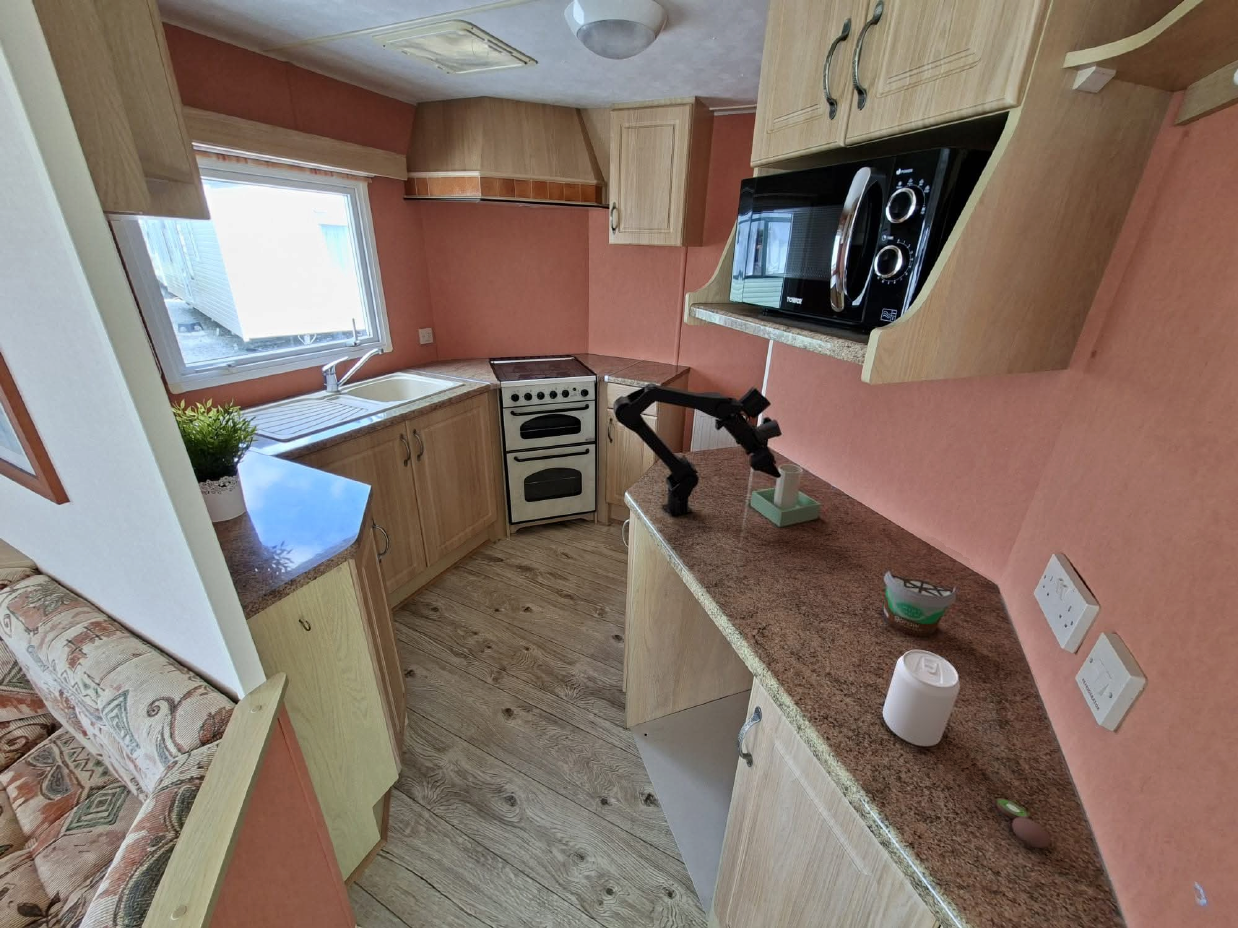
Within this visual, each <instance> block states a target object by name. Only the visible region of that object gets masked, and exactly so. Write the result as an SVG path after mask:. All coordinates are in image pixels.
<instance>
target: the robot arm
mask: <svg viewBox="0 0 1238 928" xmlns="http://www.w3.org/2000/svg"><path fill="white" fill-rule="evenodd" d="M657 402H658V403H662V404H667V405H673V406H677V407H681V408H682V407H683V408H688V409H693V410H697V411H699V412H701V413H703V414H706V415H707V416H710V417H712V418H715V419H714V422H715V424H714V428H715V429H716V431H720V430H721V429H723V428H724V430H725V431H727V432H728V433H729V435H730V436H731V437H732V438H733V440H735V443H736V444H737V446H740V447H741V448H742V449H743V451H744V452H745V454H746V455H747V456H749V460H748V462H749V466H750V468H751V469H752V470H753V471H754V472H760V473H763V474H766V475H769V476H772V477H774V478H776V479H777V478H780V477H781V474H780V472H779V471H778V468H777V466H776V464H777V461H776V459H775V453H774V452H773V451H772V450H771V448H770V447H768V446H769V440H771V439H773V438H779V437H780V436H782V435H783V434H782V430H781V427H780V425H779V422H778V420H777V419H775V418H773V419H771V418H770V417H769V416H765V417H763V418H762V422H761V423H760V424H759V425H757V426H755V424H752V423H750V422H749V420H747V419H746V418H748V419H751V420H754V419H757V418H758V417H759V416H760V415H761V414H762V413H763V412H764V411H766V410H767V409H768V408H769V407H770V406H771V405H772V404H771V402H770V401H769V399H768V398H767V397H765V396H764V395H763V393H761V391H759V390H758V389H757V388H756V387H755V386H752V387H750V389H749V390H748V391H747V392H746V393H745V394H744V395H743V396H742V397H741V398H740V399H737V398H736V397H731V396H729V397H728V396H725V395H724V394H723V393H721V392H719V391H718V392H717V391H712V392H711V391H710V392H709V391H705V392H694V391H689V390H685V389H678V388H674V387H669V386H664V385H659V384H656V383H654V382H650V383H648V384H646V385H644V386H643V387H642V388H639V389H637V390H634V391H632V392H630V393H628V394H627V395H625V396H621V397H620V396H619V397H618V398H616V399H615V400H614V402H613V404H612V410H613V414H614V416H615V419H616V421H617V422H618V423H620V424H621V425H622V426H624V427H625V428H626V429H628V430H629V431H632V432H633V433H635V434H636V435H637V436H638V437H639V438H640V439H641V440H642V442H644V443H645V444H646V445H647V446H648V448H649V449H650V450H651V451H652V452H653V453H654V455H656V457H658V458H659V460H660V461H662V462H663V464H664V465H665V466H666V467H667V468H668V470H669V471H670V474H669V475H668V476H666V477H665V482H666V485H667V486H668V487H667V503H665V504H662V508H663V509H664V510H665V511H666V513H668V514H669V515H670V516H671V517H676V516H682V515H686V514H691V513H692V512H693V510H692V509H691V508H690V507H689V497H691V495H692V492H693V490H694V488H696V487H697V486H698V484H699V481H700V478H699V476H698V474H699V472H698V470H697V468H696V466H695V465H694V464H693V462H691V461H689V459H688V458H687V457H686V455H685V454H683V455H682V456H681V457H680V456H679V455H677V454H676V453H674V451H673V450H672V449H671V448H670V447H669V445H668V444H666V442H665V441H664V440H663V439H662V438H661V437H660V436H659V435H658V434H657V432H655V431H654V429H653V428H652V427H651V426H650V425H649V424H648V422H646V420H645V419H644V417H643V416H642V413H645V412H646V410H647V409H648V408H649V407H651V406H652V405H653V404H654V403H657ZM742 413H743V414H744V415H743V414H742Z"/></svg>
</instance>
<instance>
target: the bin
mask: <svg viewBox="0 0 1238 928" xmlns="http://www.w3.org/2000/svg"><path fill="white" fill-rule="evenodd" d="M775 488H776V486H775V487H771V488H765V489H760V490H754V491H751V497H750V498H751V499H750V507H751V508H753V509H754V510H756V511H757V512H758V513H759V514H761V515H762V516H764V517H765V518H767V519H768V520H769V521H771V522H772V523H773V524H774V525H776V526H778V527H779V528H781V527H787V526H791V525H794V524H799V523H803V522H808V521H813V520H818V519H819V514H820V509H821V503H820V502H818V501H817V500H815V499H814V498H811V497H810V496H808V495H806V494H805V493H803V492H802V491H800V490H799V494H798V500H797V506H796V508H793V509H789V510H784V511H782V510H780V509H779V508H777V507H776V506H774V505H773V501H774V494H775Z"/></svg>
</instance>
